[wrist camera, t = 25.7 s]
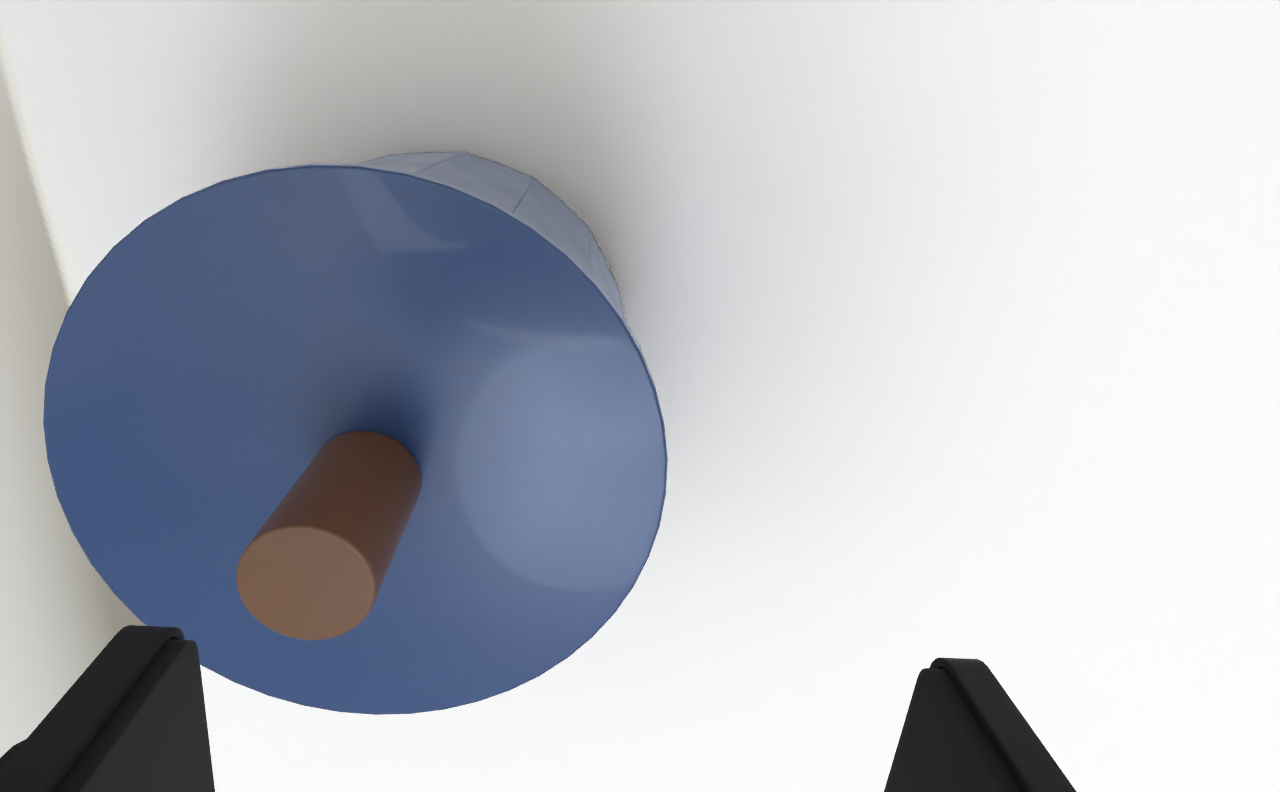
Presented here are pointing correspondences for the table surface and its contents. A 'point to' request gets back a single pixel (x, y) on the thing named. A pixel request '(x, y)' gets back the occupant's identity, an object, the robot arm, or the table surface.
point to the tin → (514, 203)
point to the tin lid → (356, 438)
